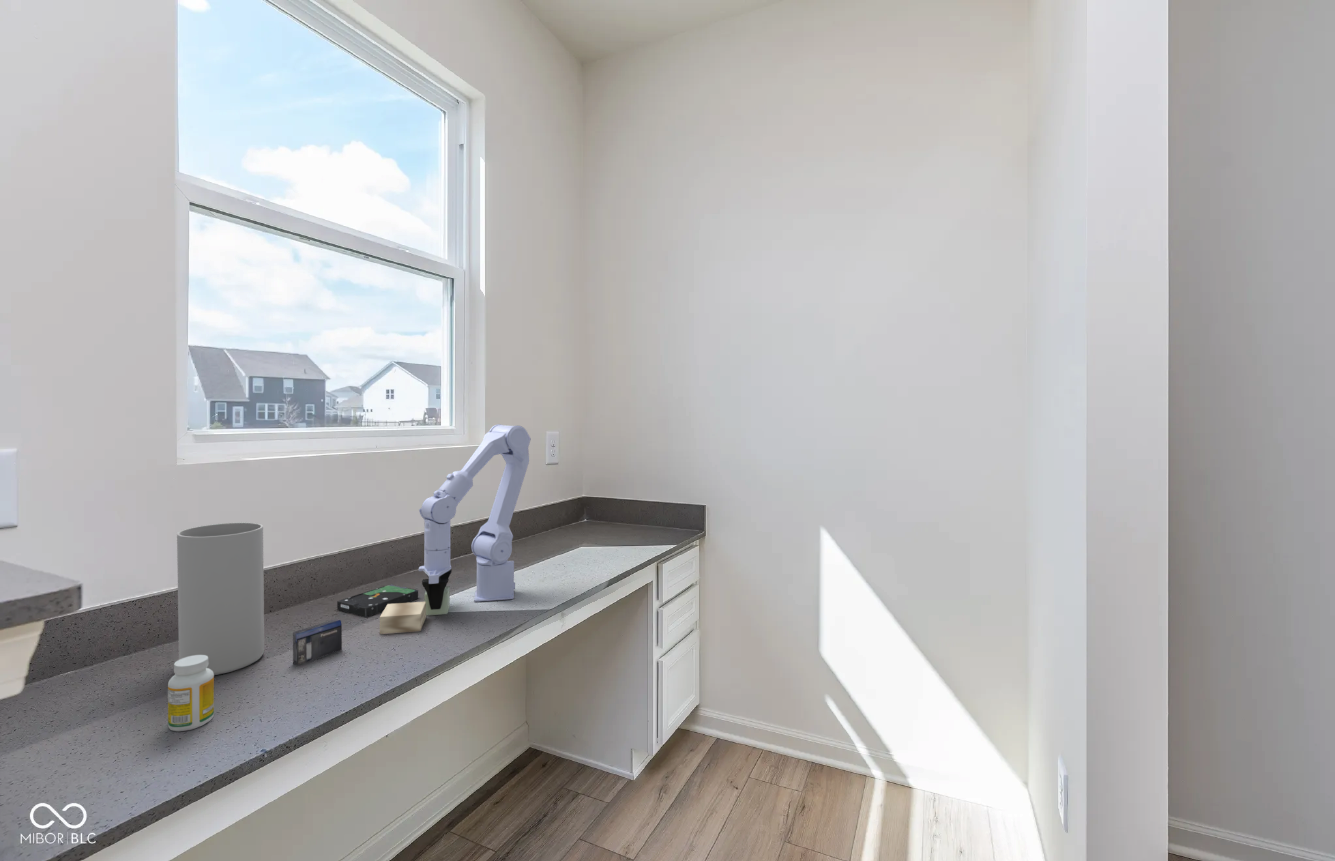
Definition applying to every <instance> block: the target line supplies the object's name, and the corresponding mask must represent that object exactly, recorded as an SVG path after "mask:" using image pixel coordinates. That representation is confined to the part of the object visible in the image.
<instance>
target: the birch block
mask: <svg viewBox="0 0 1335 861" xmlns="http://www.w3.org/2000/svg"><path fill="white" fill-rule="evenodd" d="M426 619H427V615H426V602H424V601H416V602H415V601H414V602H413V601H411V602H407V603H396V604H387V606H386V608H385V609H384V611H382V612H381V614H380V616H379V635H387V634H388V635H389V634H398V633H413V632H414V633H415V632H421V631H422V628H423V626H424V624H425V621H426Z"/></svg>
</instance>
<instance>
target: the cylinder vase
mask: <svg viewBox="0 0 1335 861" xmlns="http://www.w3.org/2000/svg"><path fill="white" fill-rule="evenodd" d="M176 545H177V546H176V548H177V549H176V553H177V554H176V555H177V556H176V558H177V559H176V560H177V562H176V563H177V616H178V618H177V619H178V620H177V622H178V624H177V625H178V628H177V629H178V631H177V632H178V660H180V659H182V658H185V657H189V656H194V655H206V656H208V663H209V664H208V667H207V668H209V669H211V670H212V671H213V673H214V676H218V675H223V674H228V673H231V672H234V671H238V670H241V669H243V668H246V667H248V666H250V665H252V664H254V663H255V662H257V661H259V660H260V659H261V657H262V656H263V655H264V652H265V594H264V593H265V591H264V584H265V582H264V525H263V524H261V523H258V522H228V523H217V524H206V525H201V526H195V527H194V526H193V527H190V528H186V529H183V530H182V529H181V530H180V531H178V532H176Z"/></svg>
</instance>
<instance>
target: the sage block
mask: <svg viewBox="0 0 1335 861" xmlns="http://www.w3.org/2000/svg"><path fill="white" fill-rule="evenodd" d="M450 589H451V587H450V586H447V585H446V587H445V590H444V594H443V600H442V605H441V608H440V609H435V610H431V608H430V605H429V600H428V595H427V592H426V591H425V593H424V595H423V596H424V600H423V602H426V616H435V615H448V613H449V609H450V606H451V605H450V603H451V602H450V599H451V597H450V596H451V594H450Z"/></svg>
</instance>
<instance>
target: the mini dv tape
mask: <svg viewBox="0 0 1335 861" xmlns="http://www.w3.org/2000/svg"><path fill="white" fill-rule="evenodd" d="M342 626H343V625H342V620H341V619H338V618H335V619H332V620H329V621H326V622H322V623H318V624H315V625H312V626H309V627H306V628H302V629H299V630H296V631H293V632H292V663H293V665H295V666H300V665H302V664H305V663H309V662H312V661H315V660H318V659H319V658H322V657H326V656H328V655H331V654H334V653H337V652H339V651H342V650H343V647H342V646H343V640H342V639H343V636H342V635H343V634H342V633H343V632H342V631H343V630H342Z"/></svg>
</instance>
